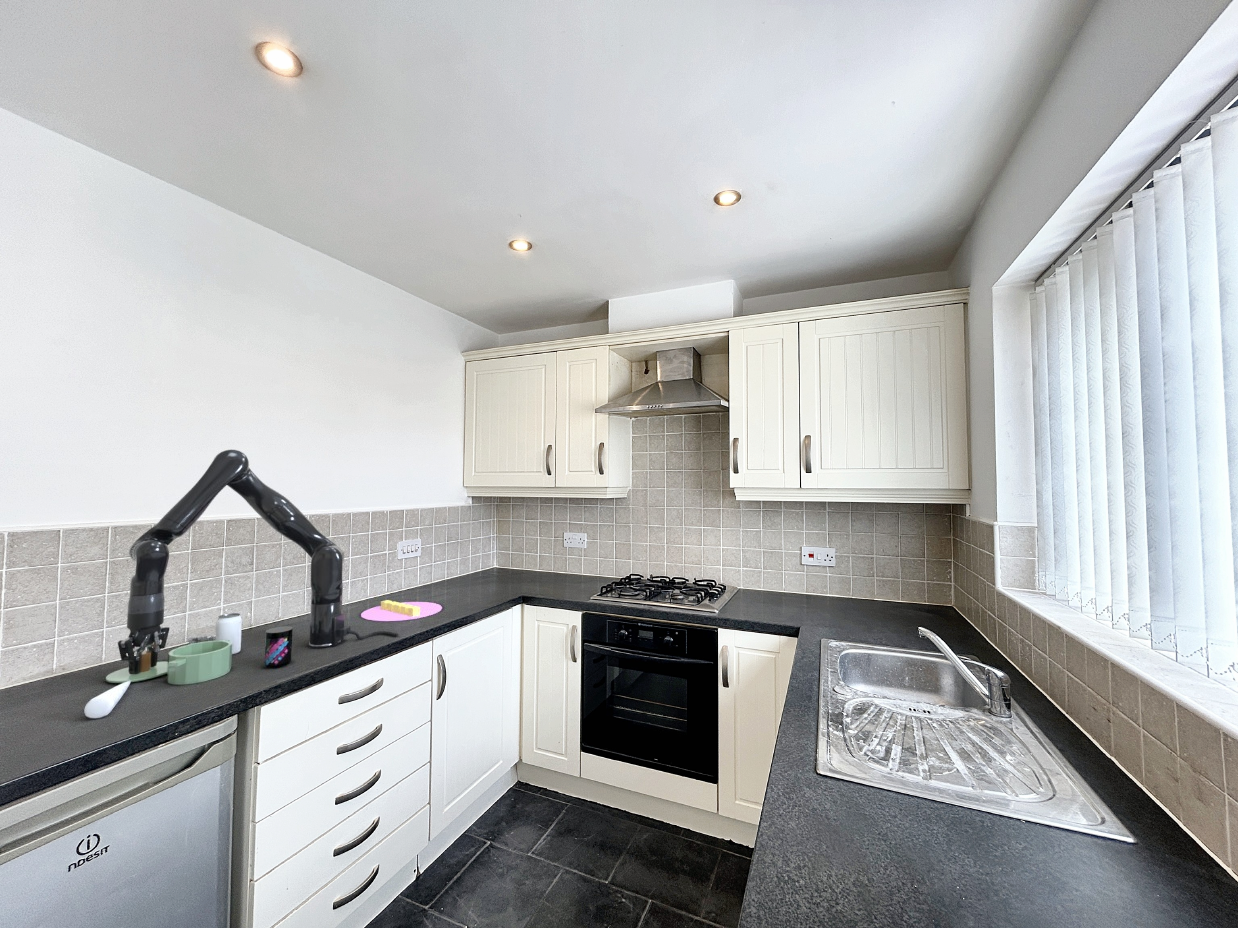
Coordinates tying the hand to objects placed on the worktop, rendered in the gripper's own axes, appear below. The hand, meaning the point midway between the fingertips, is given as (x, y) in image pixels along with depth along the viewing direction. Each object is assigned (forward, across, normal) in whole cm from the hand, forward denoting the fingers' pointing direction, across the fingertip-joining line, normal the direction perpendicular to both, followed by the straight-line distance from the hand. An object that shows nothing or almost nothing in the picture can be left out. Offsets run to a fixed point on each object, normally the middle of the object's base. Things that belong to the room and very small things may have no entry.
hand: (143, 669), depth 138 cm
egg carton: (+2, +21, -1) cm, 21 cm away
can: (+2, +17, -11) cm, 20 cm away
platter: (+1, +68, -47) cm, 83 cm away
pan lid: (+1, 0, 0) cm, 1 cm away
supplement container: (+2, +6, -33) cm, 34 cm away
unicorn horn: (+2, -18, -8) cm, 19 cm away
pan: (+1, -1, -16) cm, 16 cm away
